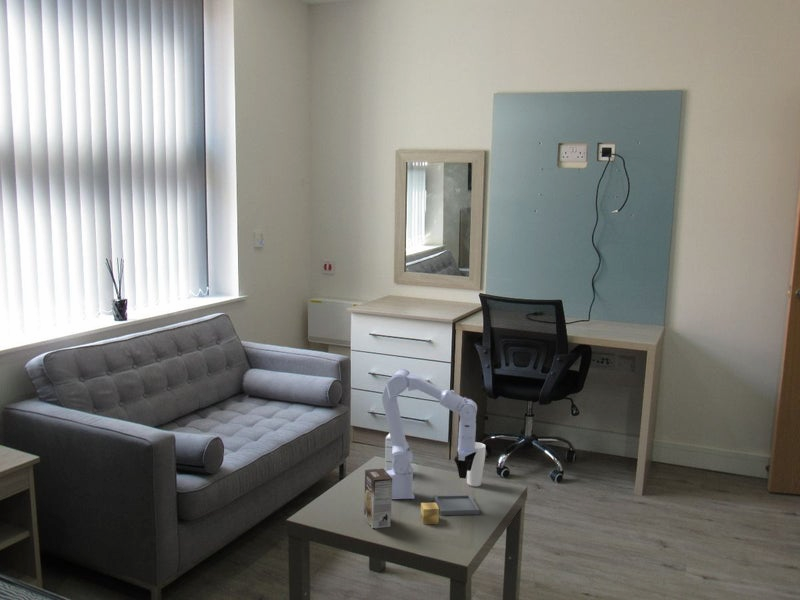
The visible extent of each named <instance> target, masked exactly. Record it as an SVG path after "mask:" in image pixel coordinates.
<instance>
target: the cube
mask: <svg viewBox="0 0 800 600" xmlns="http://www.w3.org/2000/svg"><path fill="white" fill-rule="evenodd" d="M420 519H421V522H422V524H423V525H435V524H436V525H437V524H439V521H440V520H439V519H440V512H439V508H438V506H437V503H435V502H421V503H420Z"/></svg>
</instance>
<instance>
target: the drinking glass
mask: <svg viewBox="0 0 800 600" xmlns="http://www.w3.org/2000/svg"><path fill="white" fill-rule="evenodd" d="M486 448H487V447H486V444H484V443H482V442H477V441H475V449H478V452H477V453H476V455H475V457H474V460H473V463H472V468H471V470H470V471H467V476H466V484H467V485H468V486H470V487H473V488H474V487H480V486H481V485H482V484H483V483H482V481H483V474H484V473H483V472H484V467H485V466H484V465H485V460H486V452H487V451H486V450H487V449H486Z"/></svg>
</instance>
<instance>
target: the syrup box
mask: <svg viewBox="0 0 800 600" xmlns="http://www.w3.org/2000/svg"><path fill="white" fill-rule="evenodd" d="M384 457H385V458H384V461H385V462H384V465H385V466H384V470H385V471H389V470H392V461H393V456H392V442H391V437H390V433H388V434H387V435H386V436H385V453H384Z"/></svg>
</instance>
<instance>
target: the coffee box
mask: <svg viewBox="0 0 800 600" xmlns="http://www.w3.org/2000/svg"><path fill="white" fill-rule="evenodd" d="M392 501H393V499H392V477H391V476H390V475H389V474H388V473H387V472H386V471H385V468H372V469H365V470H364V501H363V502H364V506H363V507H364V511H363V512H364V513H363V517H365V518H364V519H365V520H366V522H367V523H368V524H369V526H370V525H371V526H370V527H371V529H372V528H375V529H382V528H389V527H390V528H391V526H392V525H391V523H392V522H391V521H392V503H393V502H392Z"/></svg>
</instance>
